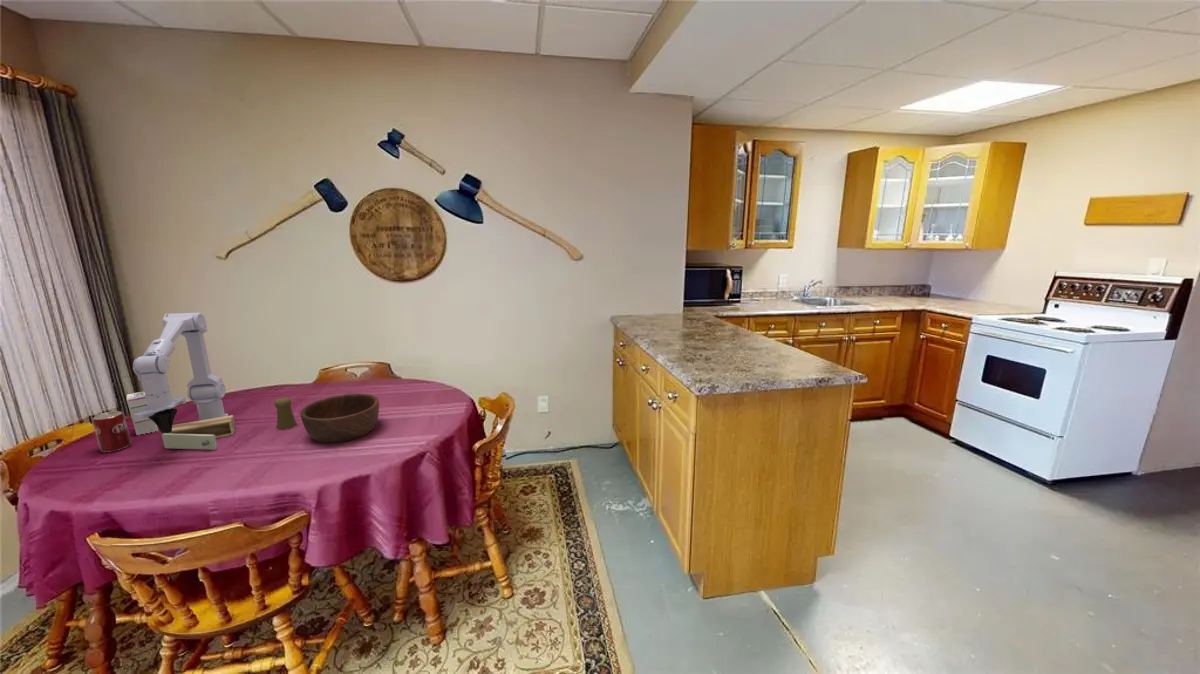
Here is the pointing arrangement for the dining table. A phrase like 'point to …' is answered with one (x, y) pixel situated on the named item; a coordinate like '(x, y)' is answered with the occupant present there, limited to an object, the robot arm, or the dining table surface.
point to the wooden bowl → (340, 417)
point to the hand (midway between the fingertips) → (166, 432)
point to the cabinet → (207, 427)
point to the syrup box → (135, 406)
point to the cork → (284, 413)
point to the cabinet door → (189, 441)
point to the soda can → (111, 431)
